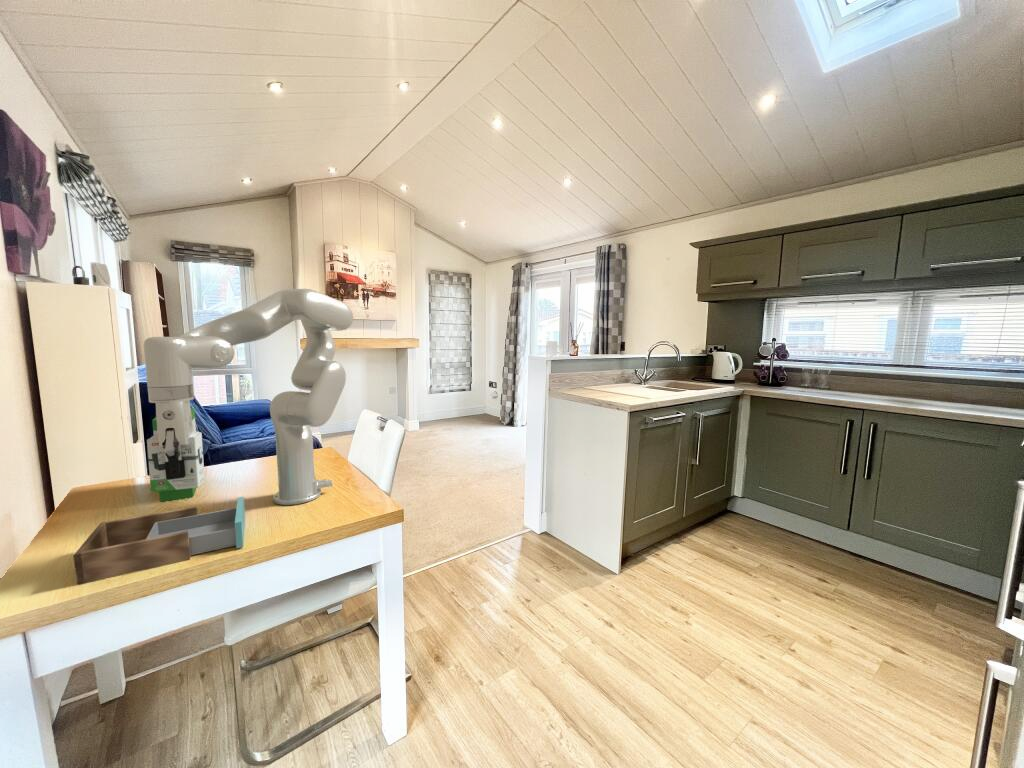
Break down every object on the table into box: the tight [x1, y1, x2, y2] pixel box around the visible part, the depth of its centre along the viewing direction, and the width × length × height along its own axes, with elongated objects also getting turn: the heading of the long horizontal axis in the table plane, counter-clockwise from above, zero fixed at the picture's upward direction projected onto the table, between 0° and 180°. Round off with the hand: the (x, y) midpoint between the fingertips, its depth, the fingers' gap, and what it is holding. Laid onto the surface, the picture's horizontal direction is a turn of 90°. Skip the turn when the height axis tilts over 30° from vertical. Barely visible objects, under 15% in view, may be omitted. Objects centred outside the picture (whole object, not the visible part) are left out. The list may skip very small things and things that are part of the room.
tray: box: [146, 496, 246, 556], centre depth 92 cm, size 17×16×6 cm
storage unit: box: [73, 506, 199, 585], centre depth 87 cm, size 17×16×6 cm
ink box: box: [146, 431, 206, 493], centre depth 89 cm, size 9×5×12 cm, turn 114°
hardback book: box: [151, 407, 198, 503], centre depth 122 cm, size 18×7×24 cm, turn 32°
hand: (178, 473), depth 89 cm, fingers closed on ink box, 5 cm apart
